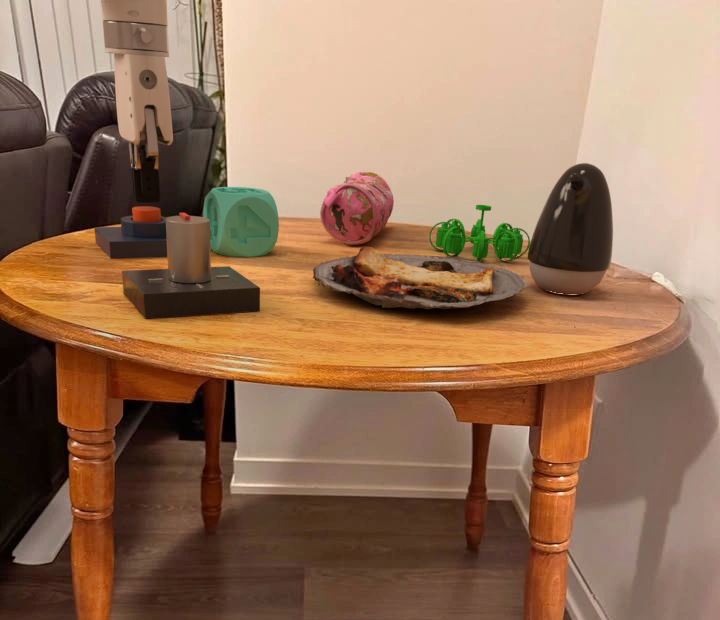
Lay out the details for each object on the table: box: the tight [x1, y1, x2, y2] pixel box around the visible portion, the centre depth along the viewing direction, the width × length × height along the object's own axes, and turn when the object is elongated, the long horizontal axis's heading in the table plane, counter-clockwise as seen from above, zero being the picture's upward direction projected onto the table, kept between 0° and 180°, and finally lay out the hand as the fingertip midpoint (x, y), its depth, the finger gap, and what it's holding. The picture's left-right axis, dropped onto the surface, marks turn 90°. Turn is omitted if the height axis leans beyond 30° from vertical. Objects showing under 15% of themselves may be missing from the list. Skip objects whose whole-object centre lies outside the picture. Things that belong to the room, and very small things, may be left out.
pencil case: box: [319, 171, 395, 246], centre depth 123 cm, size 21×9×9 cm, turn 172°
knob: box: [166, 212, 212, 283], centre depth 80 cm, size 4×4×6 cm
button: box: [131, 205, 162, 222], centre depth 103 cm, size 4×4×2 cm
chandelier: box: [428, 204, 531, 263], centre depth 116 cm, size 15×15×7 cm
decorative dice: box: [202, 186, 280, 258], centre depth 106 cm, size 8×8×8 cm
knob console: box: [121, 266, 261, 320], centre depth 82 cm, size 12×10×3 cm
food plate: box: [312, 246, 529, 310], centre depth 92 cm, size 25×23×4 cm
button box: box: [94, 215, 168, 260], centre depth 104 cm, size 12×10×4 cm
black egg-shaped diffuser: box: [526, 162, 614, 295], centre depth 96 cm, size 10×10×15 cm
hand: (146, 201), depth 102 cm, fingers closed
